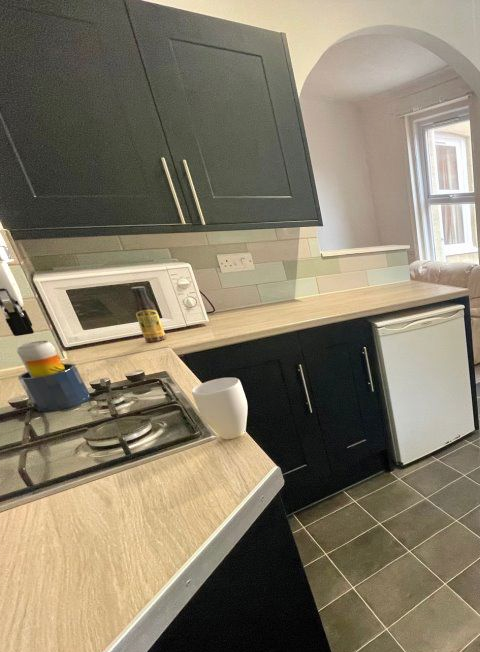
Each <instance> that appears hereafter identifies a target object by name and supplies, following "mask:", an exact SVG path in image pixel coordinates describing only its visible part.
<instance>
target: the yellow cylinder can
mask: <svg viewBox="0 0 480 652" xmlns="http://www.w3.org/2000/svg"><path fill="white" fill-rule="evenodd" d="M16 348H17V350H16V352H17V355H18V356H19V358H20V360H21V362H22V363H23V365H24V367H25V369H26V372H29V374H30V376H31V378H34V377H41V376H46V375H51V374H55V373H58V372H62V371H64V370H66V369H65V367H64V366H63V364H64V363H63V362H62V360H61V358H60V356H59V354H58V352H57V350H56V348H55V346H54V345H53V343H51V342H50V341H49V340H36V341H31V342H27V343H22V344H20V345H17V347H16Z"/></svg>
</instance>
